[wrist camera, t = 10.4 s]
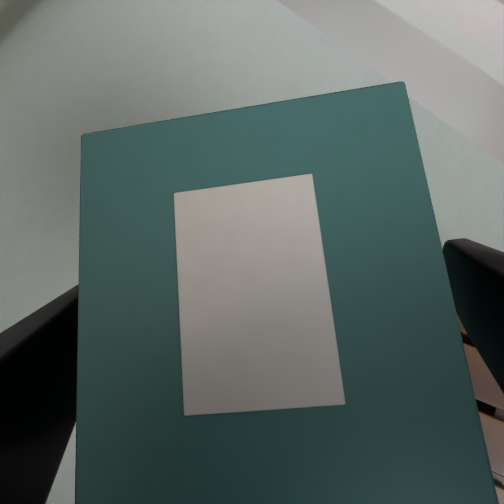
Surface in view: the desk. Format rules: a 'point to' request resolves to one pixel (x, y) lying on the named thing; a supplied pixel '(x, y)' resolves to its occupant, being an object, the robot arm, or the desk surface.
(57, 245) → the desk surface
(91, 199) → the tissue box
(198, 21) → the desk surface
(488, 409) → the wooden pallet
